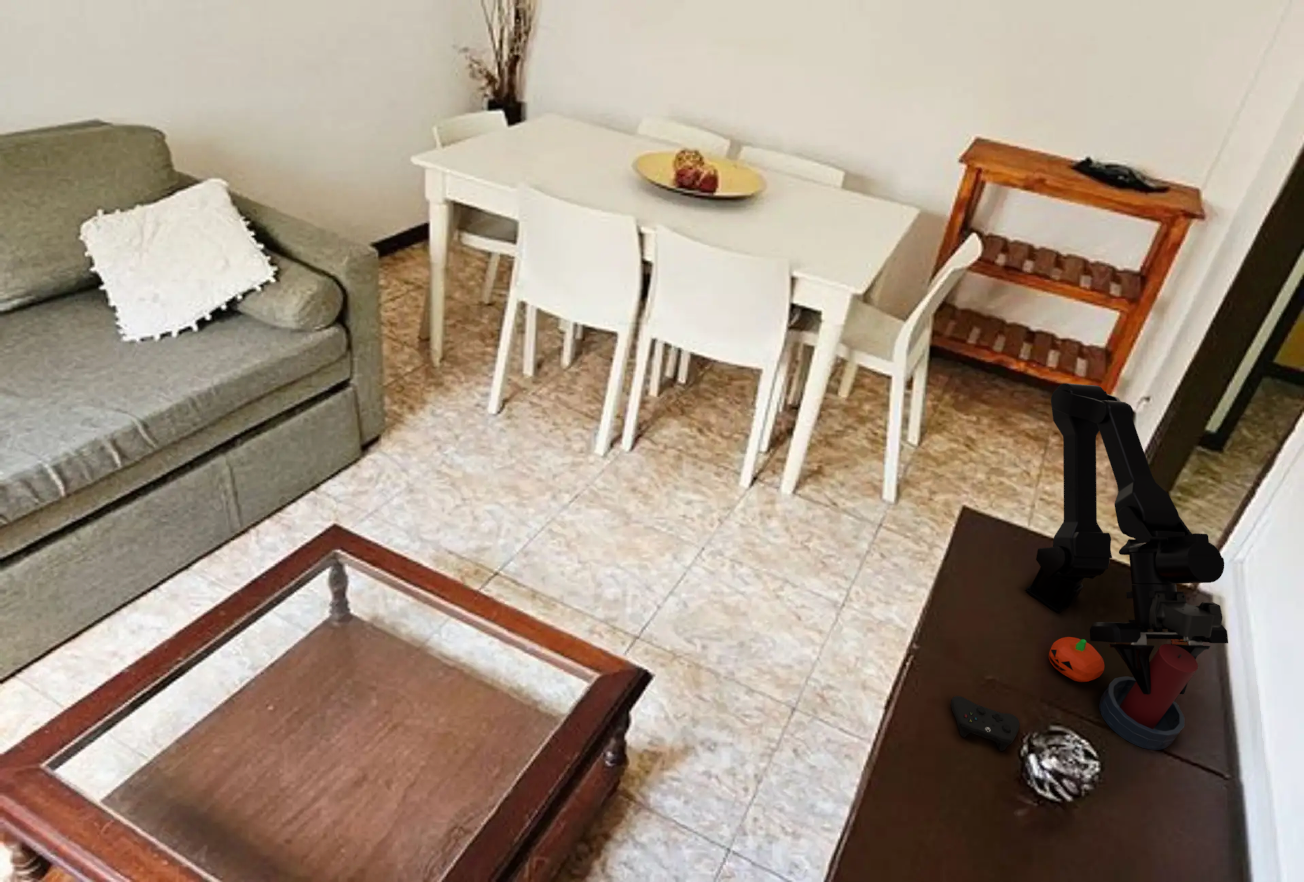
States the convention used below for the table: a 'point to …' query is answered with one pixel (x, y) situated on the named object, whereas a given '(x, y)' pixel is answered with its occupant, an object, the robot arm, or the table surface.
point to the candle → (1160, 685)
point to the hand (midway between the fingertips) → (1163, 694)
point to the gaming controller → (984, 722)
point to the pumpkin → (1076, 659)
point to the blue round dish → (1133, 730)
